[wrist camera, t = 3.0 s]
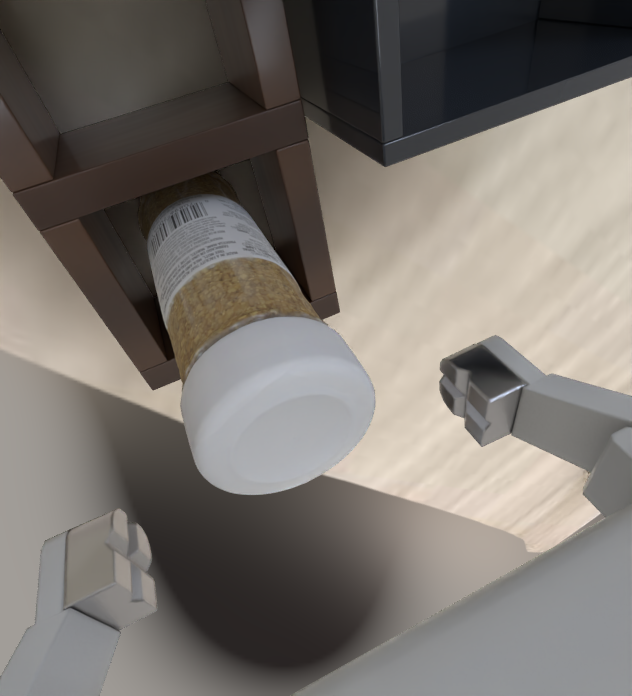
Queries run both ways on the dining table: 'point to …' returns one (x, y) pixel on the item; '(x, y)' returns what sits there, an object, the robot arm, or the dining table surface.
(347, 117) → the dark grey open box
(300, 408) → the spice jar
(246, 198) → the dining table surface
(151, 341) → the rack
